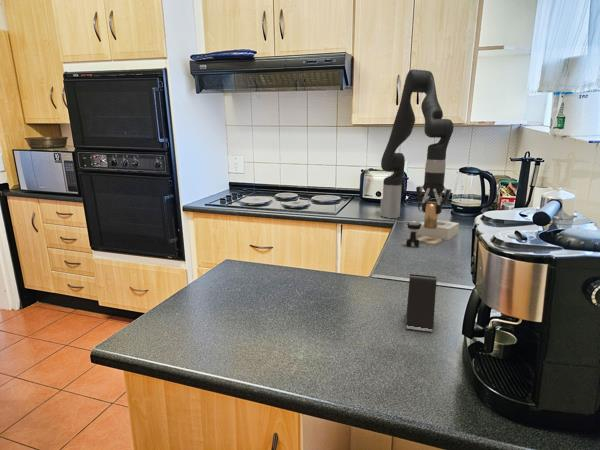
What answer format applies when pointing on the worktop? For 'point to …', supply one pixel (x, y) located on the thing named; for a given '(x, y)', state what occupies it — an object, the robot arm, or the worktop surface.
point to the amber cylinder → (431, 215)
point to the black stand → (413, 234)
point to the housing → (440, 230)
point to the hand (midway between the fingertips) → (431, 212)
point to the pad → (429, 240)
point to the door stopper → (421, 301)
